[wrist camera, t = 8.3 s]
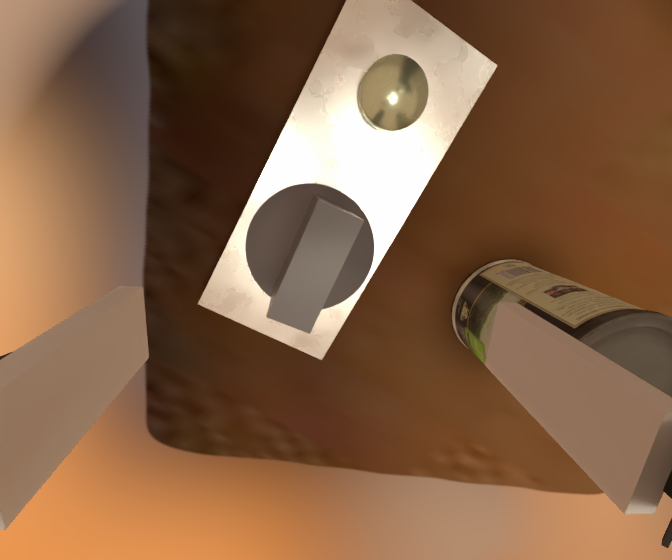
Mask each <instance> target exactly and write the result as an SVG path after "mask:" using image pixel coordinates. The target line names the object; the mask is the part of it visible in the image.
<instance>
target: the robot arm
mask: <svg viewBox="0 0 672 560" xmlns="http://www.w3.org/2000/svg"><path fill="white" fill-rule="evenodd" d="M148 358H149V353H148V341H147V329H146V317H145V305H144V293H143V287H136V286H135V287H134V286H119V287H117V288H115V289H114V290H112V291H111V292H109V293H108V294H106V295H104V296H103V297H101V298H99V299H98V300H96V301H94V302H93V303H91V304H90V305H88V306H86V307H85V308H83V309H82V310H80V311H78V312H77V313H75V314H73V315H72V316H70V317H69V318H67V319H65V320H64V321H62V322H61V323H59V324H57V325H56V326H54V327H52V328H51V329H49V330H48V331H46V332H44V333H43V334H41V335H40V336H38V337H36V338H35V339H33V340H31V341H30V342H29V343H27V344H25V345H24V346H22V347H20V348H19V349H17V350H15V351H13V352H11V353H8V354H6V355H3V356H0V530H6V528H7V527H8V526H9V525H10V523H11V522H12V521H13V520H14V519H15V518H16V516H17V515H18V514H19V513H20V512H21V510H22V509H23V508H24V507H25V505H26V504H27V503H28V502H29V501H30V499H31V498H32V497H33V496H34V495H35V494H36V492H37V491H38V490H39V488H41V486H42V485H43V484H44V483H45V482H46V480H47V479H48V478H49V477H50V476H51V474H52V473H53V472H54V471H55V470H56V468H57V467H58V466H59V465H60V464H61V462H62V461H63V460H64V459H65V458H66V456H67V455H68V454H69V453H70V452H71V450H72V449H73V448H74V447H75V446H76V444H77V443H78V442H79V441H80V440H81V438H82V437H83V436H84V435H85V434H86V432H87V431H88V430H89V429H90V428H91V426H92V425H93V424H94V423H95V422H96V420H97V419H98V418H99V417H100V415H101V414H102V413H103V412H104V411H105V410H106V408H107V407H108V406H109V405H110V404H111V402H112V401H113V400H114V399H115V397H116V396H117V395H118V394H119V393H120V391H121V390H122V389H123V388H124V387H125V385H126V384H127V383H128V382H129V381H130V379H131V378H132V377H133V376H134V374H136V372H137V371H138V370H139V369H140V368H141V366H142V365H143V364H144V363H145V361H146V360H147V359H148ZM485 366H486V367H487V368H488V369H489V370H490V371H491V372H492V373H493V375H494V376H495V377H496V378H497V379H498V380H499V381H500V382H501V383H502V384H503V385H504V386H505V387H506V388H507V389H508V390H509V392H510V393H511V394H512V395H513V396H514V397H515V398H516V399H517V400H518V401H519V402H520V403H521V404H522V405H523V406H524V408H525V409H526V410H527V411H528V412H529V413H530V414H531V415H532V416H533V417H534V418H535V419H536V420H537V421H538V422H539V423H540V425H541V426H542V427H543V428H544V429H545V430H546V431H547V432H548V433H549V434H550V435H551V436H552V437H553V438H554V439H555V441H556V442H557V443H558V444H559V445H560V446H561V447H562V448H563V449H564V450H565V451H566V452H567V453H568V454H569V455H570V456H571V458H572V459H573V460H574V461H575V462H576V463H577V464H578V465H579V466H580V467H581V468H582V469H583V470H584V471H585V472H586V474H587V475H588V476H589V477H590V478H591V479H592V480H593V481H594V482H595V483H596V484H597V485H598V486H599V487H600V488H601V489H602V491H603V492H604V493H605V494H606V495H607V496H608V497H609V498H610V499H611V500H612V501H613V502H614V503H615V504H616V505H617V506H618V508H619V509H620V510H621V511H622V512H623V513H624V514H649V513H655V511H656V509H657V506H658V504H659V502H660V499H661V497H662V495H663V492H665V493H666V494H667V495H668V496H669V497H671V498H672V397H670V396H668V395H667V394H665V393H664V392H662V391H660V390H659V389H657V388H655V387H654V386H652V385H650V384H649V383H647V382H646V381H644V380H642V379H641V378H639V377H637V376H636V375H634V374H632V373H631V372H629V371H628V370H626V369H624V368H623V367H621V366H619V365H618V364H616V363H614V362H613V361H611V360H610V359H608V358H606V357H605V356H603V355H601V354H600V353H598V352H597V351H595V350H593V349H592V348H590V347H588V346H587V345H585V344H583V343H582V342H580V341H579V340H577V339H575V338H574V337H572V336H570V335H569V334H567V333H565V332H564V331H562V330H561V329H559V328H557V327H556V326H554V325H552V324H551V323H549V322H547V321H546V320H544V319H543V318H541V317H539V316H538V315H536V314H534V313H533V312H531V311H530V310H528V309H526V308H525V307H523V306H521V305H520V304H518V303H507V302H499V303H498V307H497V312H496V316H495V321H494V326H493V330H492V335H491V339H490V344H489V348H488V353H487V357H486V362H485ZM671 541H672V519H671V521H670V523H669V525H668V528H667V530H666V532H665V534H664V537H663V539H662V545H663V546H665V547H667V548H668V547H669V545H670V543H671Z"/></svg>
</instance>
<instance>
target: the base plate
mask: <svg viewBox="0 0 672 560" xmlns="http://www.w3.org/2000/svg"><path fill="white" fill-rule="evenodd" d="M496 67H497V65H496V64H495V63H493V62H492V61H491V60H489V59H488V58H487V57H485V56H484V55H483V54H481V53H480V52H479V51H477V50H476V49H475V48H473V47H472V46H471V45H469V44H468V43H467V42H466V41H464V40H463V39H462V38H460V37H459V36H458V35H456V34H455V33H454V32H452V31H451V30H450V29H448V28H447V27H446V26H444V25H443V24H442V23H440V22H439V21H438V20H436V19H435V18H434V17H432V16H431V15H430V14H428V13H427V12H426V11H424V10H423V9H422V8H420V7H419V6H418V5H416V4H415V3H414V2H413V1H411V0H346V2H345V4H344V6H343V8H342V10H341V12H340V14H339V17H338V19H337V21H336V23H335V25H334V27H333V29H332V31H331V33H330V35H329V37H328V39H327V41H326V43H325V45H324V47H323V49H322V51H321V53H320V55H319V57H318V59H317V61H316V64H315V66H314V68H313V70H312V72H311V74H310V76H309V78H308V80H307V82H306V84H305V86H304V88H303V90H302V92H301V94H300V96H299V98H298V100H297V102H296V104H295V106H294V109H293V111H292V113H291V115H290V117H289V119H288V121H287V123H286V125H285V127H284V129H283V131H282V133H281V135H280V137H279V139H278V141H277V143H276V145H275V147H274V149H273V151H272V153H271V156H270V158H269V160H268V162H267V164H266V166H265V168H264V170H263V172H262V174H261V176H260V178H259V180H258V182H257V184H256V186H255V188H254V190H253V192H252V194H251V196H250V198H249V200H248V203H247V205H246V207H245V209H244V211H243V213H242V215H241V217H240V219H239V221H238V223H237V225H236V227H235V229H234V231H233V233H232V235H231V237H230V239H229V241H228V243H227V245H226V248H225V250H224V252H223V254H222V256H221V258H220V260H219V262H218V264H217V266H216V268H215V270H214V272H213V274H212V276H211V278H210V280H209V282H208V284H207V286H206V288H205V290H204V292H203V295H202V297H201V299H200V301H199V303H198V304H199V305H201V306H203V307H205V308H208V309H210V310H212V311H214V312H216V313H219V314H221V315H223V316H225V317H227V318H230V319H232V320H234V321H236V322H239V323H241V324H243V325H245V326H247V327H250V328H252V329H254V330H256V331H258V332H261V333H263V334H265V335H267V336H270V337H272V338H274V339H276V340H278V341H281V342H283V343H285V344H287V345H289V346H292V347H294V348H296V349H298V350H301V351H303V352H305V353H307V354H309V355H312V356H314V357H316V358H318V359H320V360H322V359H323V357H324V355H325V354H326V352H327V350H328V349H329V347H330V345H331V343H332V342H333V340H334V338H335V337H336V335H337V333H338V332H339V330H340V328H341V327H342V325H343V323H344V322H345V320H346V318H347V317H348V315H349V313H350V312H351V310H352V308H353V307H354V305H355V303H356V302H357V300H358V298H359V297H360V295H361V293H362V292H363V290H364V288H365V287H366V285H367V283H368V282H369V280H370V278H371V277H372V275H373V273H374V271H375V270H376V268H377V266H378V265H379V263H380V261H381V260H382V258H383V256H384V255H385V253H386V251H387V250H388V248H389V246H390V245H391V243H392V241H393V240H394V238H395V236H396V235H397V233H398V231H399V230H400V228H401V226H402V225H403V223H404V221H405V220H406V218H407V216H408V215H409V213H410V211H411V210H412V208H413V206H414V204H415V203H416V201H417V199H418V198H419V196H420V194H421V193H422V191H423V189H424V188H425V186H426V184H427V183H428V181H429V179H430V178H431V176H432V174H433V173H434V171H435V169H436V168H437V166H438V164H439V163H440V161H441V159H442V158H443V156H444V154H445V153H446V151H447V149H448V148H449V146H450V144H451V143H452V141H453V139H454V137H455V136H456V134H457V132H458V131H459V129H460V127H461V126H462V124H463V122H464V121H465V119H466V117H467V116H468V114H469V112H470V111H471V109H472V107H473V106H474V104H475V102H476V101H477V99H478V97H479V96H480V94H481V92H482V91H483V89H484V87H485V86H486V84H487V82H488V81H489V79H490V77H491V76H492V74H493V72H494V70H495V69H496ZM303 183H315V184H322V185H326V186H329V187H332V188H334V189H337V190H339V191H341V192H342V193H344V194H346V195H347V196H349V197H350V198H351V199H353V200H354V201H355V202H356V203H357V204H358V205H359V206H360V208H361V209H362V210H363V212H364V213H365V215H366V217H367V218H368V220H369V223H370V225H371V228H372V232H373V236H374V244H375V246H374V259H373V263H372V266H371V269H370V272H369V274H368V276H367V278H366V279H365V281H364V283H363V284H362V285H361V287H360V288H359V289H358V290H357V291H356V292H355V293H354V294H353V295H352V296H350V297H349V298H348V299H347V300H345V301H343V302H342V303H340V304H337V305H335V306H333V307H330V308H326V309H322V310H321V312H320V314H319V316H318V318H317V320H316V322H315V324H314V326H313V329H312V331H311V333H310V334H309V333H306V332H303V331H301V330H298V329H296V328H293V327H290V326H288V325H285V324H283V323H280V322H277V321H275V320H272V319H269V318H267V317H266V316H267V312H268V308H269V304H270V300H271V297H269V296H268V295H267V294H266V293H265V292H264V291H263V290H262V289H261V288H260V287H259V285H258V284H257V283H256V281H255V280H254V278H253V276H252V274H251V272H250V269H249V267H248V263H247V259H246V251H245V244H246V236H247V231H248V228H249V225H250V222H251V220H252V218H253V216H254V215H255V213H256V212H257V210H258V209H259V208H260V206H261V205H262V204H263V203H264V202H265V201H266V200H267V199H269V198H270V197H271V196H272V195H274V194H275V193H277V192H278V191H280V190H282V189H284V188H287V187H289V186H293V185H296V184H303Z"/></svg>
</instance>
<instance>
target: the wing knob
mask: <svg viewBox="0 0 672 560" xmlns="http://www.w3.org/2000/svg"><path fill="white" fill-rule="evenodd" d="M374 246H375V244H374V236H373V232H372V228H371V225H370V223H369V220H368V218H367V217H366V215H365V213H364V212H363V210H362V209H361V208H360V206H359V205H358V204H357V203H356V202H355V201H354V200H353V199H351V198H350V197H349V196H347V195H346V194H344V193H342V192H341V191H339V190H337V189H334V188H332V187H329V186H326V185H322V184H315V183H303V184H296V185H293V186H289V187H287V188H284V189H282V190H280V191H278V192H277V193H275V194H274V195H272V196H271V197H270V198H269V199H267V200H266V201H265V202H264V203H263V204H262V205H261V206H260V208H259V209H258V210H257V212H256V213H255V215H254V216H253V218H252V220H251V222H250V225H249V228H248V231H247V236H246V244H245V251H246V259H247V263H248V267H249V269H250V272H251V274H252V276H253V278H254V280H255V281H256V283H257V284H258V285H259V287H260V288H261V289H262V290H263V291H264V292H265V293H266V294H267V295H268V296H269V297H271V300H270V304H269V308H268V312H267V316H266V317H267V318H269V319H272V320H275V321H277V322H280V323H283V324H285V325H288V326H290V327H293V328H296V329H298V330H301V331H303V332H306V333H309V334H310V333H311V331H312V329H313V326H314V324H315V322H316V320H317V318H318V316H319V314H320V312H321V310H322V309H326V308H330V307H333V306H335V305H337V304H340V303H342V302H343V301H345V300H347V299H348V298H349V297H350V296H352V295H353V294H354V293H355V292H356V291H357V290H358V289H359V288H360V287H361V285H362V284H363V283H364V281H365V279H366V278H367V276H368V274H369V272H370V269H371V266H372V263H373V259H374Z"/></svg>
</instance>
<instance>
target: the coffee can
mask: <svg viewBox="0 0 672 560" xmlns="http://www.w3.org/2000/svg"><path fill="white" fill-rule="evenodd" d="M499 302H507V303H518V304H520V305H521V306H523V307H525V308H526V309H528V310H530V311H531V312H533V313H534V314H536V315H538V316H539V317H541V318H543V319H544V320H546V321H547V322H549V323H551V324H552V325H554V326H556V327H557V328H559V329H561V330H562V331H564V332H565V333H567V334H569V335H570V336H572V337H574V338H575V339H577V340H579V341H580V342H582V343H583V344H585V345H587V346H588V347H590V348H592V349H593V350H595V351H597V352H598V353H600V354H601V355H603V356H605V357H606V358H608V359H610V360H611V361H613V362H614V363H616V364H618V365H619V366H621V367H623V368H624V369H626V370H628V371H629V372H631V373H632V374H634V375H636V376H637V377H639V378H641V379H642V380H644V381H646V382H647V383H649V384H650V385H652V386H654V387H655V388H657V389H659V390H660V391H662V392H664V393H665V394H667V395H668V396H670V397H672V317H669V316H666V315H664V314H661V313H658V312H654V311H648V310H644V309H642V308H639V307H637V306H634V305H632V304H629V303H627V302H624V301H622V300H620V299H617V298H614V297H612V296H609V295H607V294H604V293H601V292H599V291H597V290H594V289H591V288H588V287H586V286H583V285H581V284H578V283H576V282H573V281H571V280H568V279H566V278H563V277H560V276H558V275H555V274H553V273H550V272H548V271H545V270H542V269H540V268H537V267H535V266H533V265H531V264H529V263H527V262H524V261H521V260H516V259H507V260H499V261H495V262H492V263H489V264H487V265H485V266H483V267H481V268H480V269H478V270H476V271H475V272H474V273H473V274H472V275H471V276H470V277H468V278H467V280H466V281H465V282H464V283H463V284H462V286H461V287H460V289H459V291H458V293H457V295H456V297H455V300H454V303H453V307H452V323H453V327H454V331H455V333H456V335H457V337H458V339H459V340H460V341H461V342H462V343H463V344H464V345H465V346H466V347H467V348H469V349H470V350H471V351H472V352H473V353H474V355H475V356H476V357H477V358H478V359H479V360H480V361H481V362H482V363H483V364H484V365H485V362H486V357H487V353H488V348H489V344H490V339H491V335H492V330H493V326H494V321H495V316H496V312H497V307H498V303H499Z"/></svg>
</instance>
